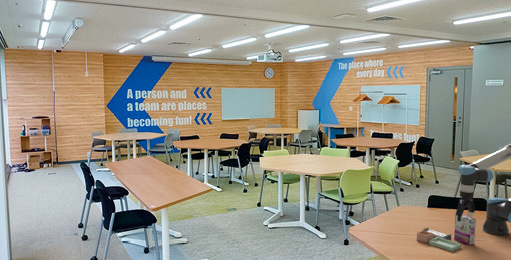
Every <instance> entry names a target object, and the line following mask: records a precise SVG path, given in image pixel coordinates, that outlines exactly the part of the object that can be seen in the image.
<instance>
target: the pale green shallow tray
mask: <svg viewBox="0 0 511 260" xmlns="http://www.w3.org/2000/svg"><path fill="white" fill-rule="evenodd" d="M428 245H429V246H433V247H436V248H440V249H443V250H445V251H449V252H450V253H451V252H452V253H453V252H455V251H457V250H459V249H461V248H462V243H461V242H460V243H459V242H458V241H457V242H456V241H452V240H451V241H450V240H447V239H443V238H440V237H436V238H434V239H431V240H429V243H428Z"/></svg>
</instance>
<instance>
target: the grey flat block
mask: <svg viewBox="0 0 511 260" xmlns="http://www.w3.org/2000/svg"><path fill="white" fill-rule="evenodd" d="M427 232H430V233H433V236H437V237H440V238H445V236H447V234H448V233H446V234H445V233H443V232H439V231H437V230H432V229H429V231H427Z"/></svg>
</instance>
